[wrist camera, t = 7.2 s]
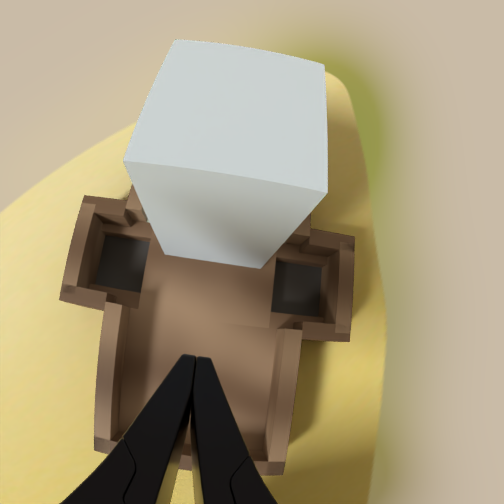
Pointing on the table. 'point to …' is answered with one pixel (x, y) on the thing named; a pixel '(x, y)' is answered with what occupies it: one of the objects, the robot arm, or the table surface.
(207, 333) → the brown compartment tray
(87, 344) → the table surface
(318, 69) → the block
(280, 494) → the table surface
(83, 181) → the table surface
